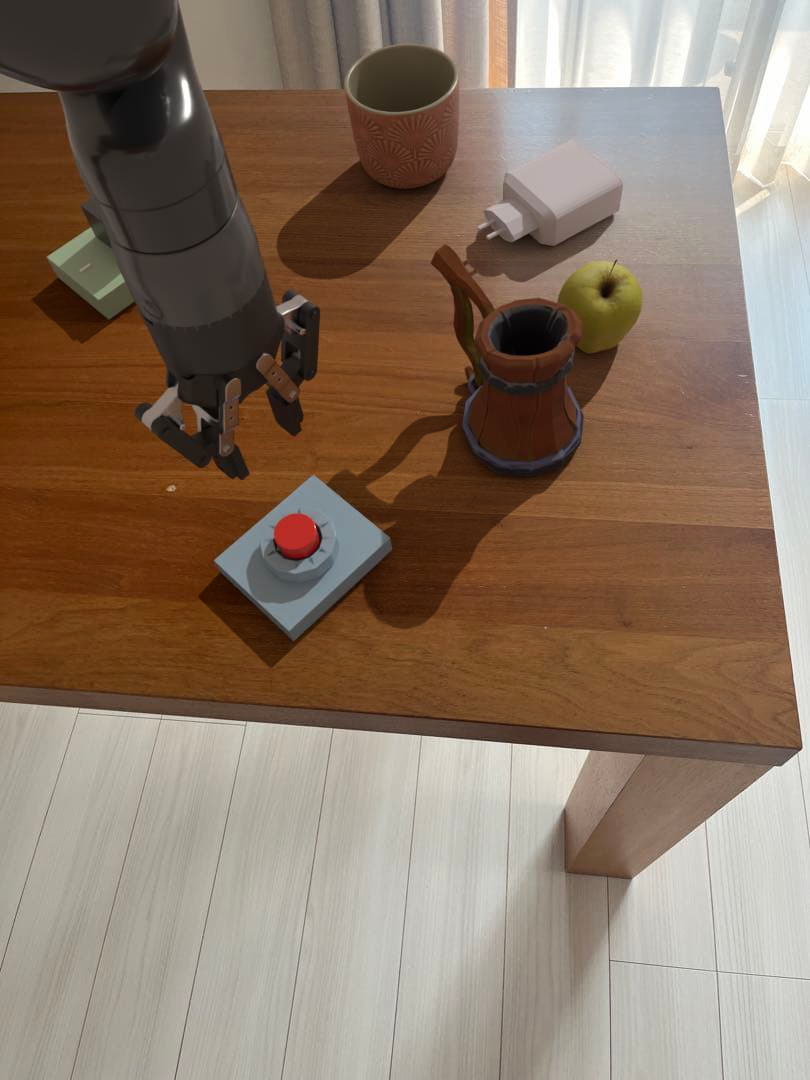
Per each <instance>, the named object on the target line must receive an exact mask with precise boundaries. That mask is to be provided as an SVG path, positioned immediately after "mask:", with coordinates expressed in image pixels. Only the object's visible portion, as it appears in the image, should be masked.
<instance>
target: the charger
mask: <svg viewBox="0 0 810 1080" xmlns="http://www.w3.org/2000/svg"><path fill="white" fill-rule="evenodd" d="M623 189H624V184H623V180H622V179H621V177H620V176H619V175H618V174H617V172H616V171H615V170H613V169H612V168H611V167H609V166H608V165H607V164H606V163H604V162H603V161H602V160H601V159H600V158H598V157H597V156H596V155H595V154H593V153H592V152H591V151H590V150H589V149H588V148H586V146H584V145H583V144H581V143H580V142H579V141H577V140H575V139H570V140H568V141H565V142H563V143H562V144H559V145H557V146H555V147H554V148H552V149H550V150H548V151H546V152H544V153H542V154H540V155H538V156H536V157H535V158H532V159H530V160H529V161H527V162H524V163H522V164H521V165H519V166H517V167H514V168H513V169H511V170H509V171H507V172H505V173H504V178H503V183H502V200H501V201H499V202H498V203H495V204H493V205H491V206H489V207H488V208H486V209H484V210H483V214H484V217H485V219H486V220H487V221H486V222H484V223H482V224H480V225H478V226H477V227H476V229H477V231H479V232H480V231H482V230H484V229H487V228H488V227H490V228H492V230H493V232H491V233H488V234H487V235H485V237H486V239H487V241H490V240H491V239H493V238H496V237H497V236H500V237H501V238H502V239H503V241H507V242H510V243H513V242H515V241H517V240H519V239H521V238H523V237H524V236H526V235H530V236H531V237H532V238H533V239H534V240H535V241H536V242H538V243H539V244H541V245H547V246H551V247H554V246H557V245H558V244H560V243H562V242H565V241H566V240H567V239H570V238H571V237H573V236H574V235H577V234H578V233H581V232H582V231H584V230H586V229H588V228H590V227H592V226H593V225H595V224H597V223H599V222H601V221H603V220H605V219H607V218H609V217H610V216H612V215H614V214H616V213H617V212H619V211H620V208H621V201H622V195H623Z"/></svg>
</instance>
